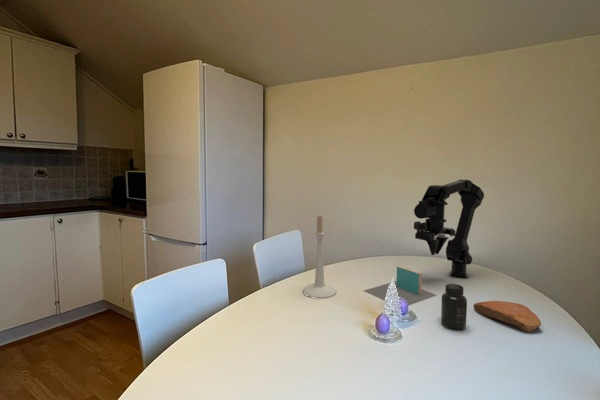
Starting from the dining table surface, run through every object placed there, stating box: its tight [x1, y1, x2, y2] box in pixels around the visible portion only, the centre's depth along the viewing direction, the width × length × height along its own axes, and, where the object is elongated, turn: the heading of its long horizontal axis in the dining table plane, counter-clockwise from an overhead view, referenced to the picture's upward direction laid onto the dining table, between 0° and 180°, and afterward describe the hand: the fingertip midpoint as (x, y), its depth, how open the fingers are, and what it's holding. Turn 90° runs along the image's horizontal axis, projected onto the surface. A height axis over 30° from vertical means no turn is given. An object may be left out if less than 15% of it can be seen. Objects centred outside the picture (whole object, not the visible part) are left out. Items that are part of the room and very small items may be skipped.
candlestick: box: [302, 214, 337, 299], centre depth 118 cm, size 13×13×30 cm
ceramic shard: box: [473, 300, 542, 333], centre depth 96 cm, size 15×6×15 cm
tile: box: [396, 265, 422, 295], centre depth 119 cm, size 2×10×8 cm, turn 33°
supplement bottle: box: [440, 283, 468, 331], centre depth 93 cm, size 7×7×12 cm
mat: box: [362, 280, 438, 307], centre depth 117 cm, size 20×18×1 cm
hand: (434, 254), depth 127 cm, fingers open, 2 cm apart
